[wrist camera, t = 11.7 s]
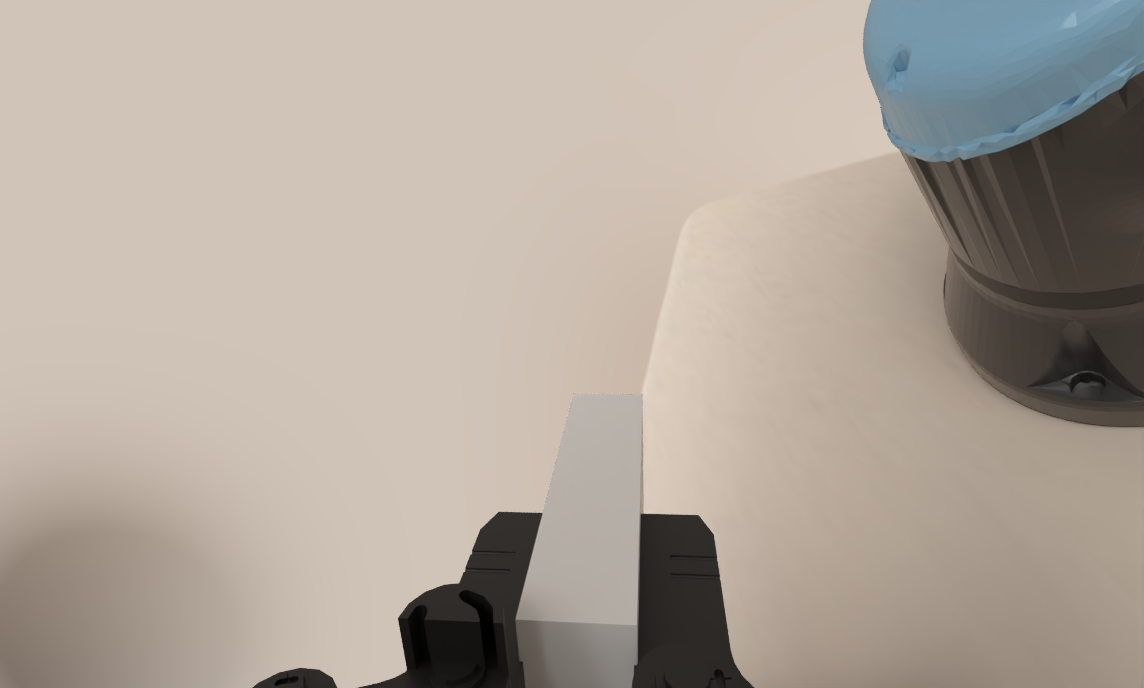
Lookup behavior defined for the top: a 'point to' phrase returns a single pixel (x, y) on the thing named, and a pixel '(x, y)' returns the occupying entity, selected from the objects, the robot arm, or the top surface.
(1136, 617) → the top surface
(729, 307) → the top surface
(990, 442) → the top surface
